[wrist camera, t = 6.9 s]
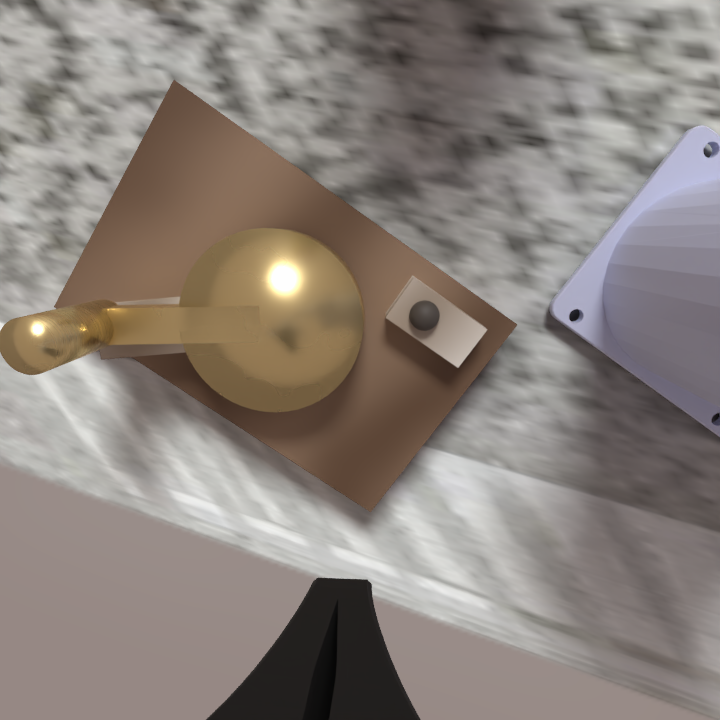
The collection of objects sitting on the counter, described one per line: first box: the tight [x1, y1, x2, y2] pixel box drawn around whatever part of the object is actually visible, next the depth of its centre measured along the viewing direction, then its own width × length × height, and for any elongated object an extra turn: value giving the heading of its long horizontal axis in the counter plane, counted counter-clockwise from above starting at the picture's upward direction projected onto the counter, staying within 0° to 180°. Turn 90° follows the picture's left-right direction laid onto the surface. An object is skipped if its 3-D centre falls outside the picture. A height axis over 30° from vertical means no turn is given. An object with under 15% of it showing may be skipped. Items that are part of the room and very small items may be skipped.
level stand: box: [54, 80, 517, 512], centre depth 19 cm, size 14×10×4 cm
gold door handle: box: [0, 228, 365, 412], centre depth 16 cm, size 10×6×4 cm, turn 91°
